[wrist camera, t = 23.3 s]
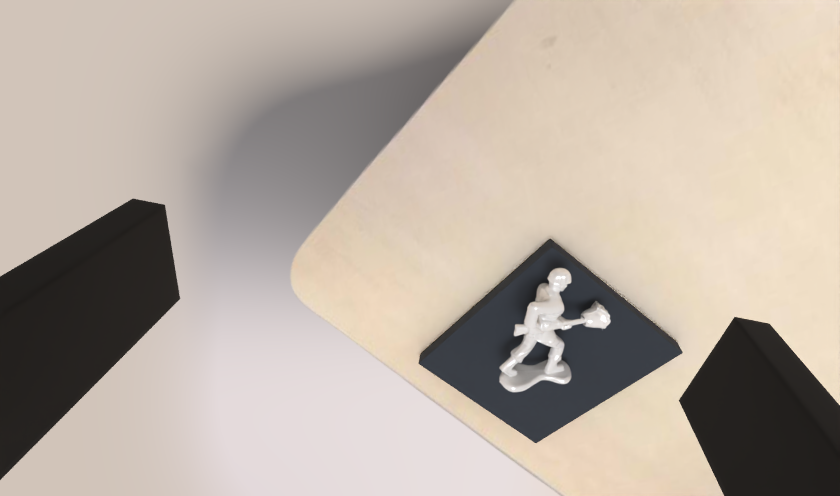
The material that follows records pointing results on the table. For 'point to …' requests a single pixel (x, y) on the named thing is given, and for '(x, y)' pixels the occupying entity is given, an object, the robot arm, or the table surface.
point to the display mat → (583, 347)
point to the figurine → (546, 335)
